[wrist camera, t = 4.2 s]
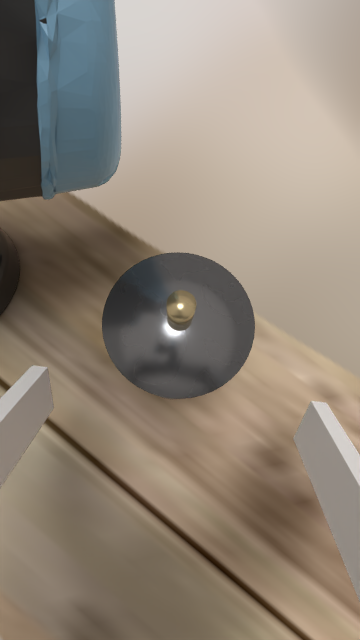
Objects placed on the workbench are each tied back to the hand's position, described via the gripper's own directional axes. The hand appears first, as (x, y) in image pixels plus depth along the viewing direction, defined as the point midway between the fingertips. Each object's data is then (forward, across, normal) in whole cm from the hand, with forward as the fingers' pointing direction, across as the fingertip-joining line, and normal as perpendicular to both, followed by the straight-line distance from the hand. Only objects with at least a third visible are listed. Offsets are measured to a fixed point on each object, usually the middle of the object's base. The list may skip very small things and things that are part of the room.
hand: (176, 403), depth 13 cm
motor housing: (+9, 0, -5) cm, 10 cm away
